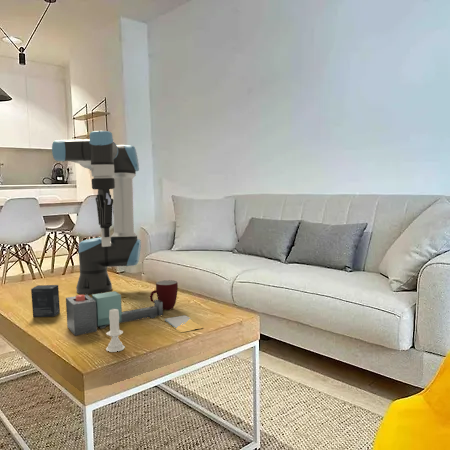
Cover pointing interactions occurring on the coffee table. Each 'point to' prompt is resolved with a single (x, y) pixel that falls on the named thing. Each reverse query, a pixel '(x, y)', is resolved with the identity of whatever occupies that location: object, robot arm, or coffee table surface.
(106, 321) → the block
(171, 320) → the smartphone
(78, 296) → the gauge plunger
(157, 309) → the rail
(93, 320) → the gray button box
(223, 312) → the coffee table surface
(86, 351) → the coffee table surface
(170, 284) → the mug
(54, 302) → the box
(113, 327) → the candle
